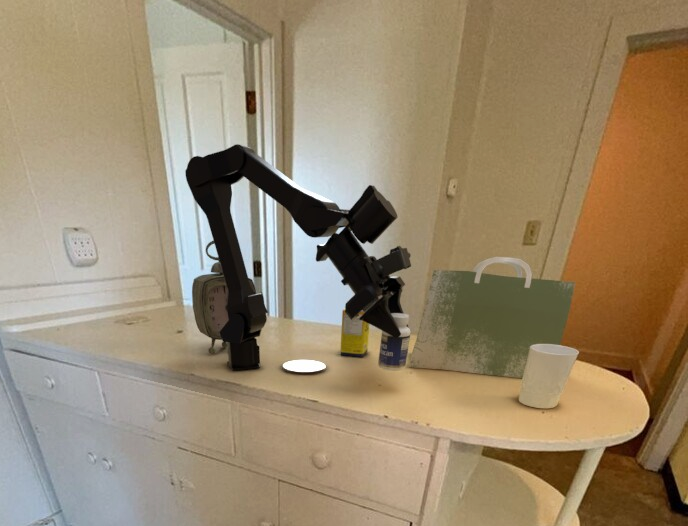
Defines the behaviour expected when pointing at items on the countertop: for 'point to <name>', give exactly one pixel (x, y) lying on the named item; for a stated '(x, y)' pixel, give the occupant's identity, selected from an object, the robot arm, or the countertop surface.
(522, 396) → the white cup
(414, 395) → the countertop surface
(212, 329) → the tabletop clock
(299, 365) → the white disc
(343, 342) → the supplement box
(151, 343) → the countertop surface
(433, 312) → the grocery bag
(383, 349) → the pill bottle
